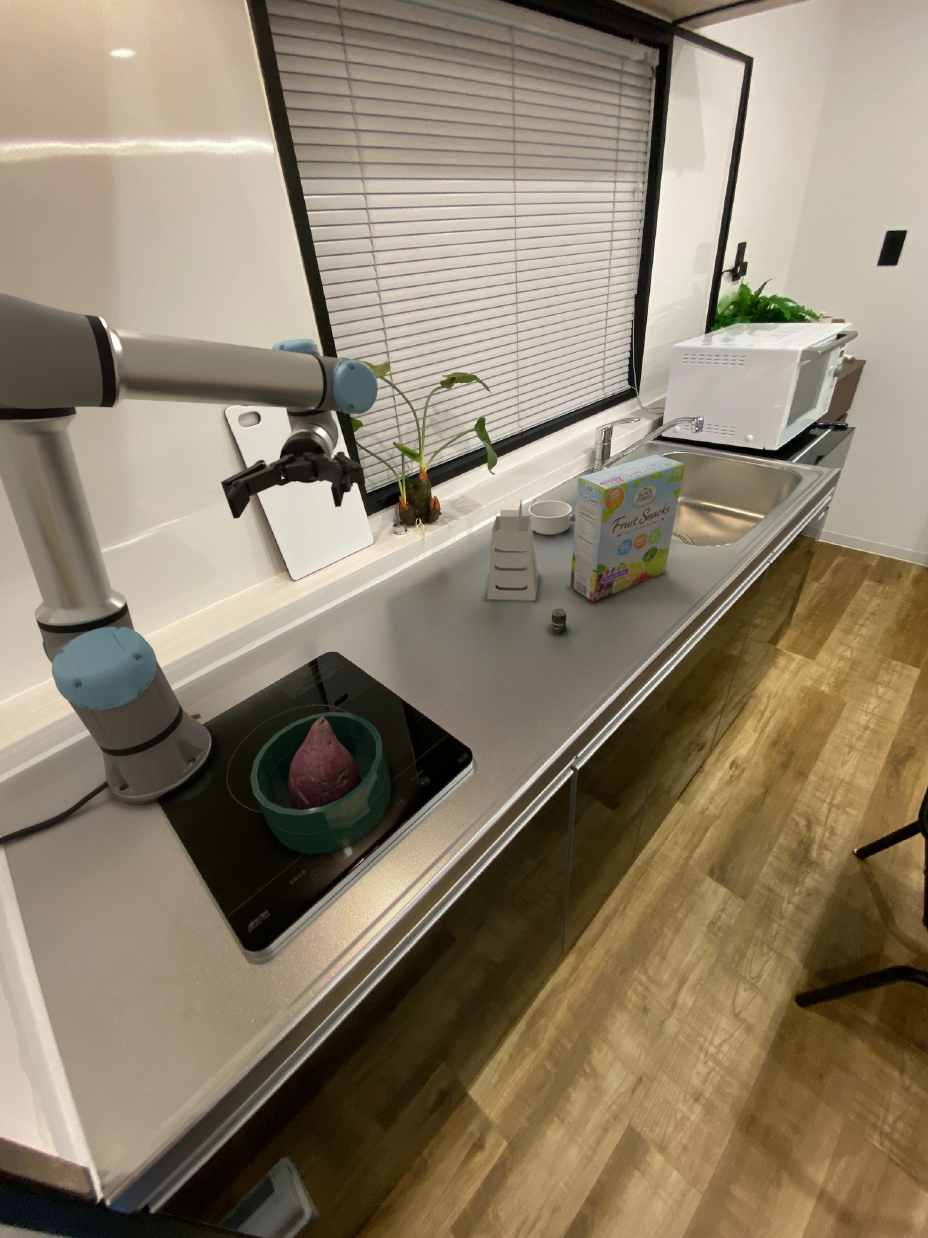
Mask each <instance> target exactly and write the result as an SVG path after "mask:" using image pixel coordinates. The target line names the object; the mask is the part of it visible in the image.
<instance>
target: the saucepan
mask: <svg viewBox="0 0 928 1238" xmlns="http://www.w3.org/2000/svg"><path fill="white" fill-rule="evenodd" d="M572 510H573V507H572V506H571V504H569V503H567V502H564V501H561V500H541V501H538V502H534V503H532V504H531V505H530V506H528V508H527V511H528V513H529V516H531V524H532V532H533V531H534V532H536V533H537V534H540V535H545V536H554V535H559V534H561V533H563V532H565V531H567V530H568V529H569V528H570V526H571V525H570V524H571V522H575V516H576V513H571V512H572Z"/></svg>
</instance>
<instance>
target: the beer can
mask: <svg viewBox="0 0 928 1238" xmlns="http://www.w3.org/2000/svg"><path fill="white" fill-rule="evenodd" d="M551 631H552V632H553V633H554V634H556V635H562V634H563V633H565V632H566V631H567V611H566V610H564V609H563V608H555V609H553V610H552V612H551Z"/></svg>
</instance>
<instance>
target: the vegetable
mask: <svg viewBox="0 0 928 1238" xmlns="http://www.w3.org/2000/svg"><path fill="white" fill-rule="evenodd" d="M361 782H362V781H361V777H360V773H359V770H358V766H357V764H356V762H355V760H354V758H353V757H352V755H351V754H350V753H349V752H348V750H347V749H346V748H345V747H344V746H343V745H341V744H340V742H339V741H338V740H337V738H336V736H335V735H334V733H333V730H332V727H331V726H330V724H329V722H328V721H327V720H326V719H324V717H321V718H320V719H318V720H317V721H316V722H315V723H314V724H313V725H312V727H311V729H310V731H309V733H308V735H307V737H306V739H305V741H304V742H303V744H302V746H301V747H300V748H299V750H298V751H297V752H296V754H295V756H294V758H293V760H292V762H291V766H290V771H289V780H288V790H289V797H290V801H291V804H292V807H293V809H298V810H305V809H311V808H316V807H322V806H325V805H327V804H329V803H332V802H334V801H336V800H339V799H341V798H343V797H344V796H346V795H347V794H348V793H350V792H351V791H352V790H354V789H355V788H356V787H358V786H359V785H360V783H361Z"/></svg>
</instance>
